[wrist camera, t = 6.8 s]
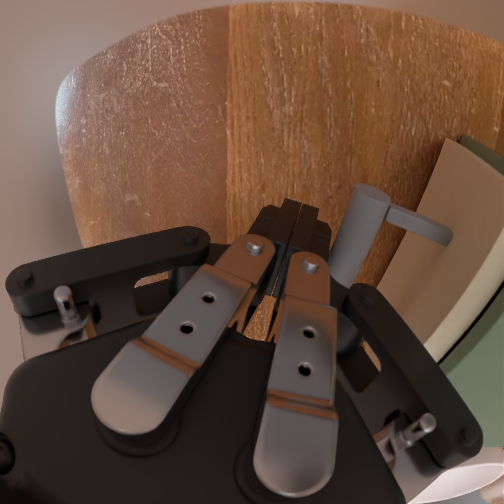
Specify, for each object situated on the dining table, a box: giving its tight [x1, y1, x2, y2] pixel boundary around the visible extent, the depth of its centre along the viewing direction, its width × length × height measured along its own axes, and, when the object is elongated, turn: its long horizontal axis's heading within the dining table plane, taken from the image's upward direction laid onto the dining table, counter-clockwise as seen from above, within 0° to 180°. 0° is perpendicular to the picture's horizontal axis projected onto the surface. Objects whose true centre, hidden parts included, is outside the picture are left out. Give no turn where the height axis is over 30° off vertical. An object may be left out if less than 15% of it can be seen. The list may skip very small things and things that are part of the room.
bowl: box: [408, 447, 504, 504], centre depth 24 cm, size 20×20×7 cm
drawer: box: [328, 138, 504, 372], centre depth 11 cm, size 18×11×8 cm, turn 79°
